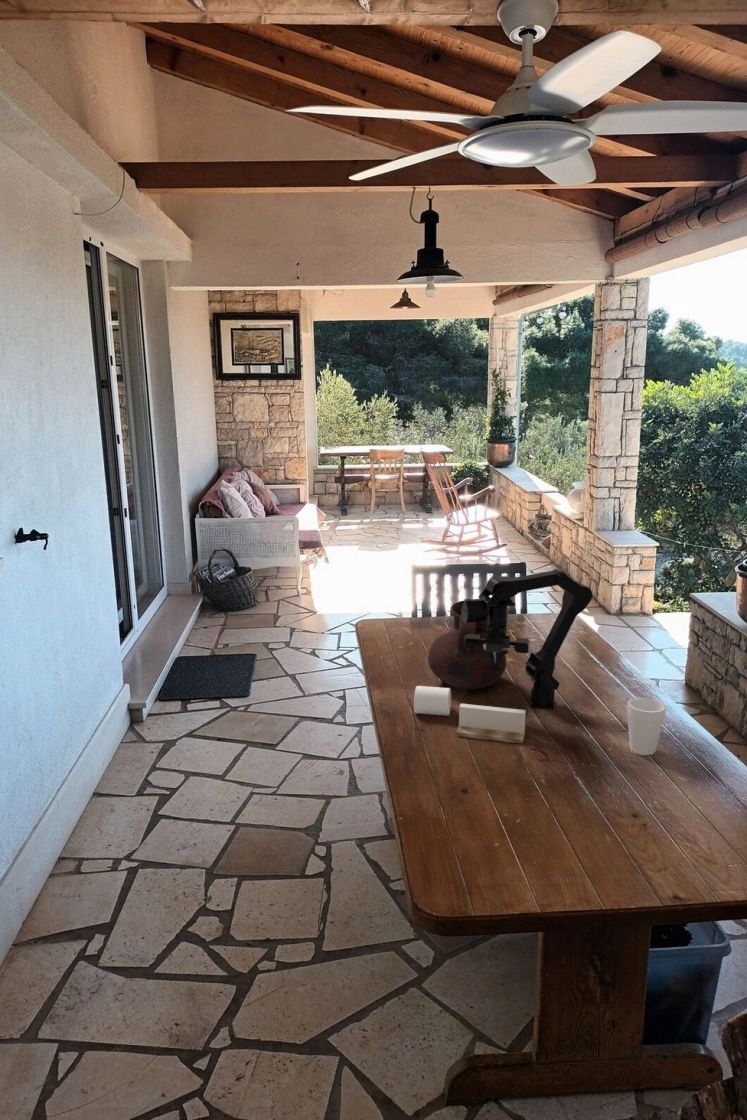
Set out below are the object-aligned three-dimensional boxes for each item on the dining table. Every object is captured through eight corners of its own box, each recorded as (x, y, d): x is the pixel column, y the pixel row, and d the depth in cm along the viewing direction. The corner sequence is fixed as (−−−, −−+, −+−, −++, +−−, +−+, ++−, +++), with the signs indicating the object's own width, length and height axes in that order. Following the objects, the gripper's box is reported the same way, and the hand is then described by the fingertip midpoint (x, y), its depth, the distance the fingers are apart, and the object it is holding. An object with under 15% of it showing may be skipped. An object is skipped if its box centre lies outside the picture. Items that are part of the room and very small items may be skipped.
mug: (447, 720, 225) (448, 694, 223) (413, 717, 227) (413, 691, 225) (452, 703, 236) (452, 679, 234) (419, 701, 238) (420, 676, 236)
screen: (524, 733, 216) (525, 710, 214) (522, 743, 210) (523, 719, 208) (460, 726, 221) (460, 703, 219) (456, 736, 215) (457, 712, 213)
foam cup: (661, 745, 209) (665, 700, 206) (661, 761, 200) (666, 714, 197) (624, 740, 212) (627, 695, 209) (623, 755, 203) (626, 709, 201)
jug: (417, 691, 245) (418, 615, 240) (441, 664, 268) (442, 595, 262) (495, 703, 236) (498, 624, 231) (512, 674, 259) (515, 602, 253)
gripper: (461, 626, 221) (460, 677, 225) (528, 631, 216) (525, 683, 220) (467, 614, 231) (465, 664, 235) (530, 619, 227) (528, 670, 230)
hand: (495, 670), depth 230 cm, fingers closed
